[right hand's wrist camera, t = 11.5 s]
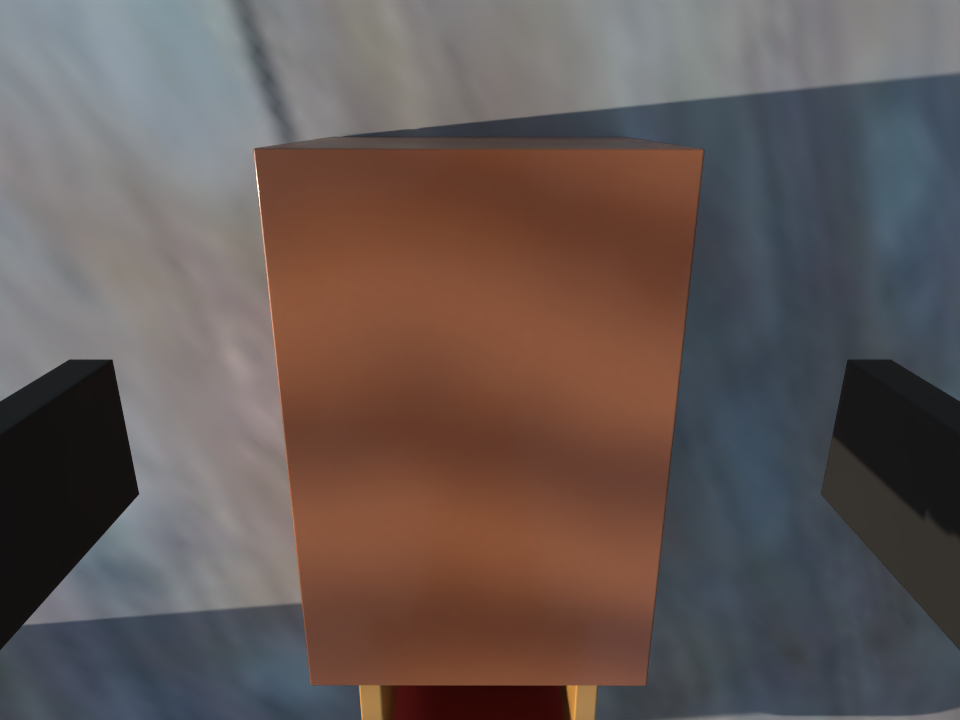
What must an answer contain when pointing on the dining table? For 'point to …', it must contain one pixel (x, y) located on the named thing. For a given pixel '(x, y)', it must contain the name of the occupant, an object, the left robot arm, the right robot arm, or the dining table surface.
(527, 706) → the drawer
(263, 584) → the dining table surface
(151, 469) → the dining table surface
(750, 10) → the dining table surface
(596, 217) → the wooden drawer cabinet
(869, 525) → the right robot arm
